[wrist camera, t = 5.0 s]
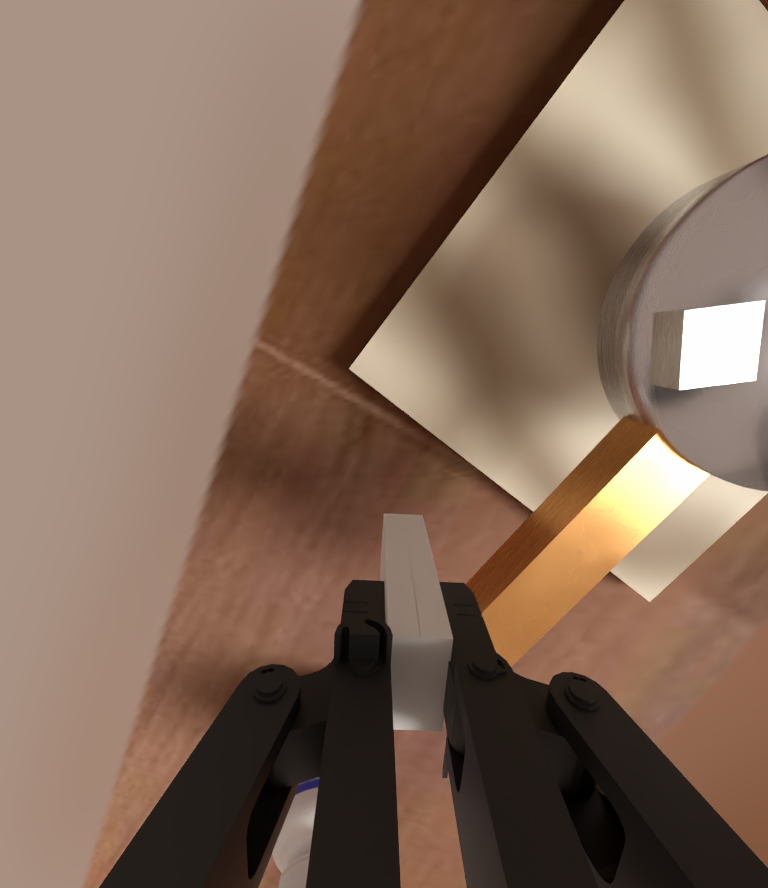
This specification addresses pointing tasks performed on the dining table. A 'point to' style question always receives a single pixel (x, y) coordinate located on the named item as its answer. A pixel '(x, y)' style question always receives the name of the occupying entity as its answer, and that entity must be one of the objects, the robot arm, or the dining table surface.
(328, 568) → the dining table surface
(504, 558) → the frying pan on burner
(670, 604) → the dining table surface
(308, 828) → the pill bottle
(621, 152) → the board
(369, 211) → the dining table surface
